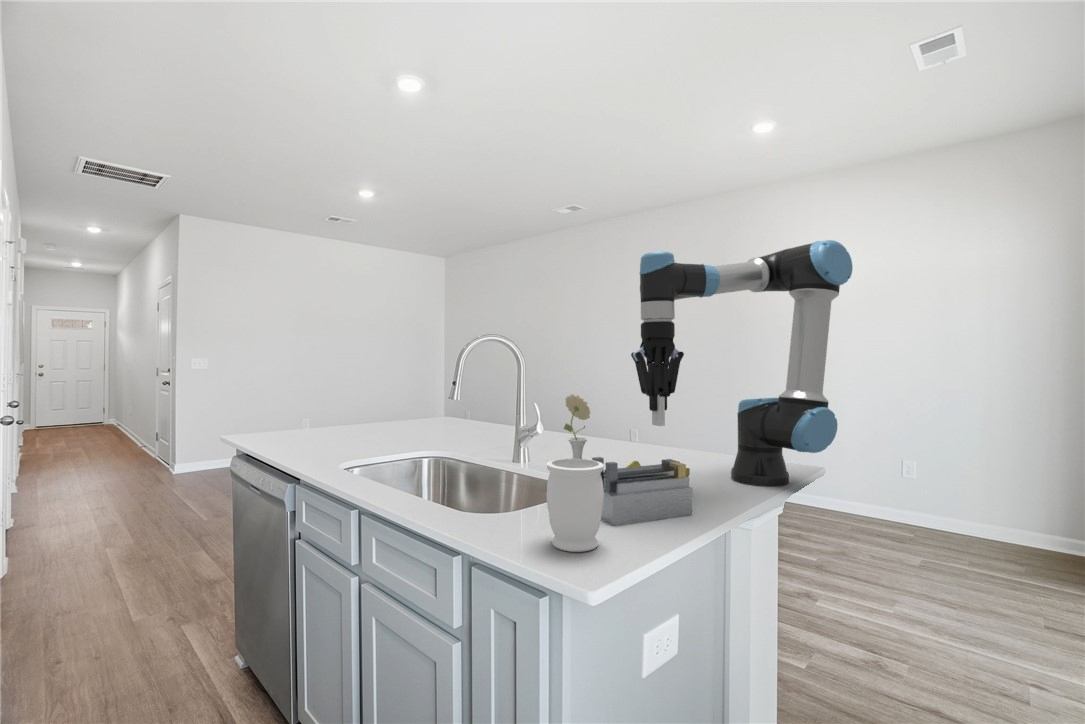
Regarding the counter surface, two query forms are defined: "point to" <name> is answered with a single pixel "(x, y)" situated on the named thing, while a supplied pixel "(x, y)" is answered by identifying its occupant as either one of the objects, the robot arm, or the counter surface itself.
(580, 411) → the flower in vase
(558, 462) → the jar
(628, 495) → the heatsink block
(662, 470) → the dark grey flat bar
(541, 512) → the counter surface
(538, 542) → the counter surface
